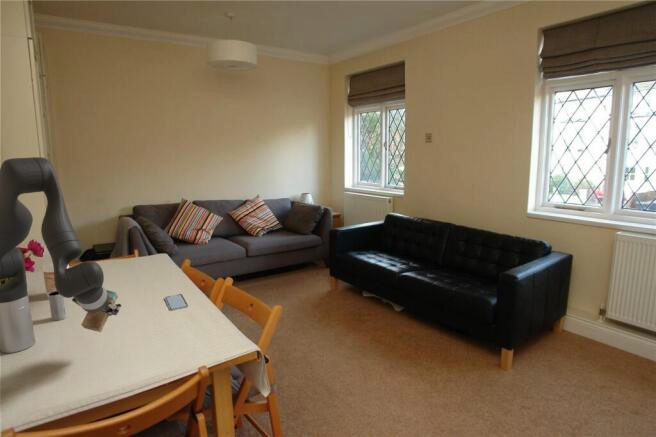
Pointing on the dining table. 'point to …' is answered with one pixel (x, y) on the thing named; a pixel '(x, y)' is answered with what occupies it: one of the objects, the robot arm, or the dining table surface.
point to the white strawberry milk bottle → (48, 272)
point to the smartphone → (176, 302)
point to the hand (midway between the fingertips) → (102, 310)
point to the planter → (57, 306)
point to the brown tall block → (98, 316)
